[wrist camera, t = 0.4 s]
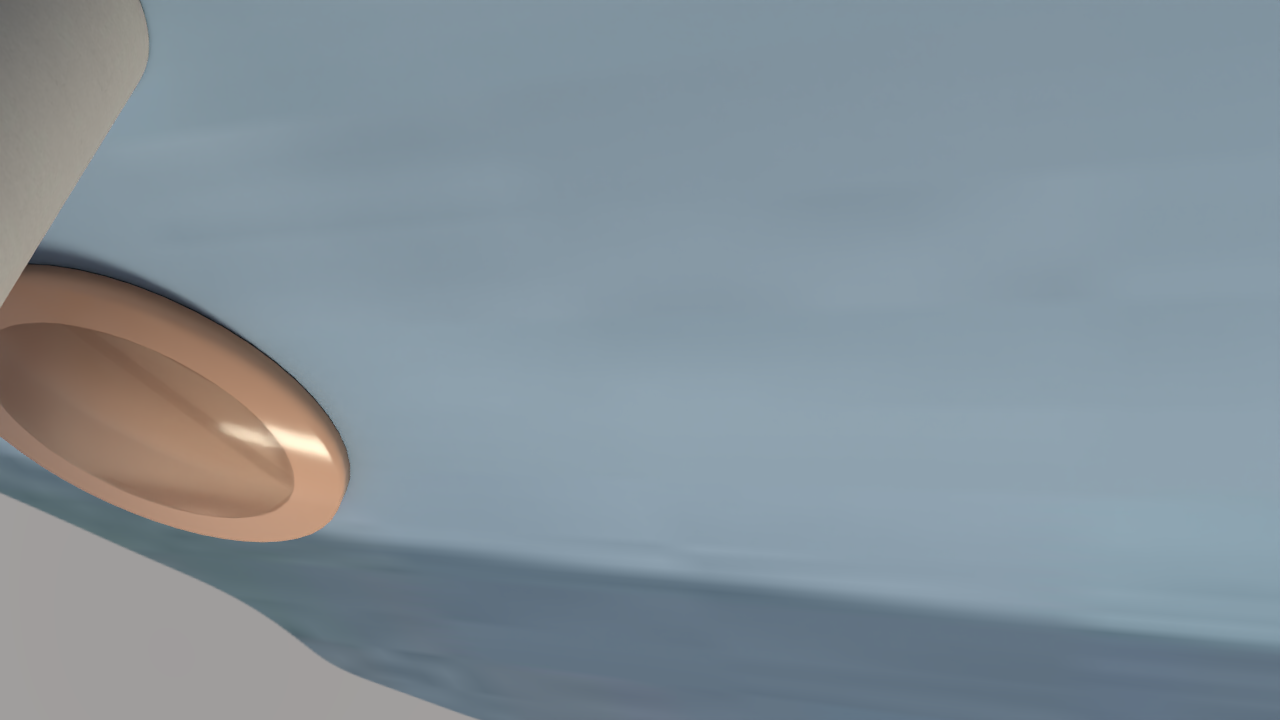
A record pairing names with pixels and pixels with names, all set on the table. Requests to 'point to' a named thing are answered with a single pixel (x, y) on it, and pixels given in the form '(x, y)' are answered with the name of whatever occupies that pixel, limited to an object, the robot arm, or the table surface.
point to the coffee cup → (57, 107)
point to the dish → (162, 410)
